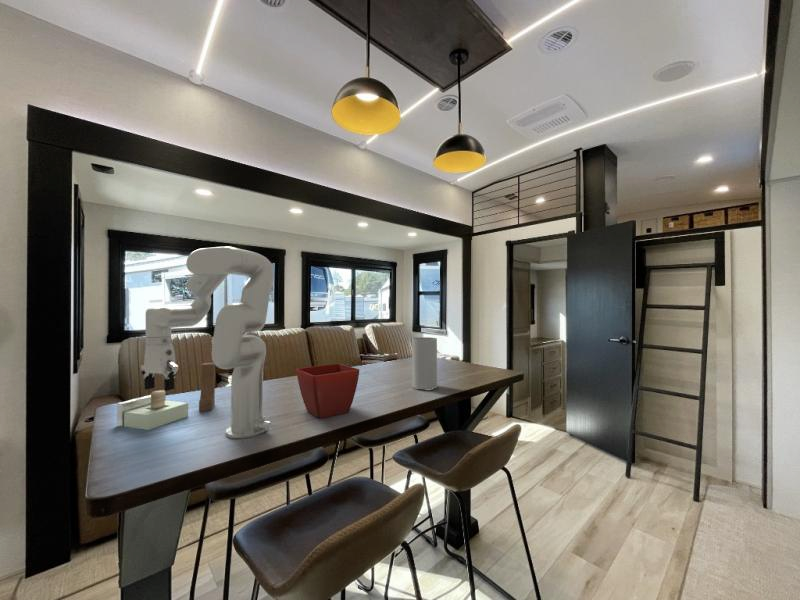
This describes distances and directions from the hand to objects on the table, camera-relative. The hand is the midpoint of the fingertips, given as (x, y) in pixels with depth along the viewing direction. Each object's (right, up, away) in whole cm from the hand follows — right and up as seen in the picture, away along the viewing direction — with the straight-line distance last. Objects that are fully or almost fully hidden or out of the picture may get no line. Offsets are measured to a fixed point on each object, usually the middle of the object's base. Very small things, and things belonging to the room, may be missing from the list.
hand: (159, 389), depth 117 cm
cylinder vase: (+100, -13, +48) cm, 111 cm away
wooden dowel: (0, -11, 0) cm, 11 cm away
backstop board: (-8, -12, +2) cm, 14 cm away
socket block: (-1, -12, 0) cm, 12 cm away
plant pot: (+58, -12, +11) cm, 60 cm away
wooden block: (+8, -12, +15) cm, 21 cm away
